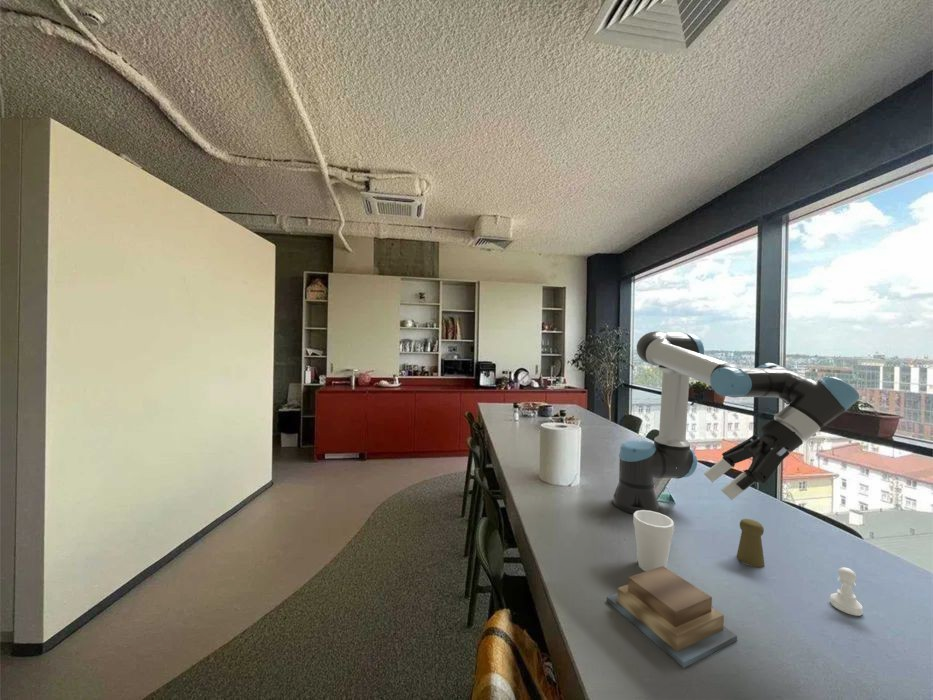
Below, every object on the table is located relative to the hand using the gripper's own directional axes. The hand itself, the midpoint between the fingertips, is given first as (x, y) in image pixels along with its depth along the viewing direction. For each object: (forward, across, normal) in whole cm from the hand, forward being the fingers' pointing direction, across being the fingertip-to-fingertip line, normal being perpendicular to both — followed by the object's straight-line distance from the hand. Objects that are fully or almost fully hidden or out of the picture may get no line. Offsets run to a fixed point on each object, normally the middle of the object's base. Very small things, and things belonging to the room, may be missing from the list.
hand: (716, 486), depth 89 cm
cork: (+8, +15, -25) cm, 30 cm away
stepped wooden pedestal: (+27, -19, -6) cm, 34 cm away
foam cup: (+27, 0, -6) cm, 28 cm away
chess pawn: (0, +1, -35) cm, 35 cm away
